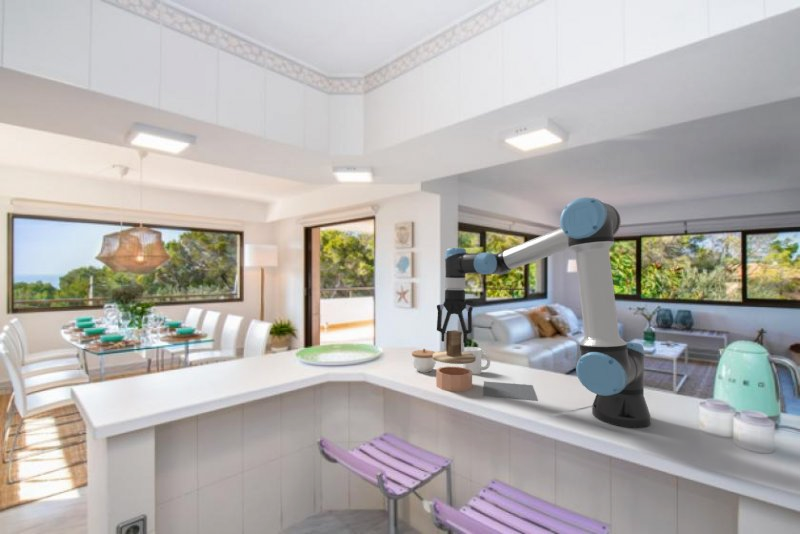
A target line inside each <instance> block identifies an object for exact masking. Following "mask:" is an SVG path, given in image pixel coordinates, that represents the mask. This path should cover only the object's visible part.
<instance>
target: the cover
mask: <svg viewBox="0 0 800 534" xmlns="http://www.w3.org/2000/svg"><path fill="white" fill-rule="evenodd" d="M446 333H447V351H444V350H440V351H436V352H435V351H434V352H435V353H433V359H434V360H436V362H439V363H443V364H452V365H462V364H467V363H472V362H474V361H476V356H475V355H473V354H471V353H467V352H461V334H463V331H461V330H454V329H453V330H446Z"/></svg>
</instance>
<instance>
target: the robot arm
mask: <svg viewBox="0 0 800 534" xmlns="http://www.w3.org/2000/svg"><path fill="white" fill-rule="evenodd" d="M621 222H622V221H621V215H620V213H619V212H618V210H617V208H616V207H614V206H612V205H611V204H609V203H605V202H603V201H602V200H599V199H598V198H595V197H588V196H586V197H578V198H576V199H574V200H573V199H572V200H571V201H570V202H569V203H567V205H566V206H565V207H564V208H563V209H562V211H561V213H560V217H559V225H560V228H558V229H555V230H552V231H549V232H546V233H544V234H542V235H540V236H538V237H535V238H532V239H530V240H528V241H525V242H523V243H520V244H518V245H515V246H512V247H511V248H506V249H505V250H503V251H501V252H497V253H491V252H471V253H468V252H467V250H466V248H465V247H464V248H463V247H449V248H447V249H446V250H445V259H444V261H445V277H444V278H445V279H444V288H445V290H444V302H443V303H442V304H437V305H436V310H437V318H436V319H437V320H436V331H437V332H439V333H440V334H441V338H440V339H441V342H443V351H447V328H448V325H449V322H450V319H451V317H452V315H454V314H455V315H457V316H458V319H459V323H460V326H461V330H462V334H461V352H464V347H465V344H467V343H468V334H472V332H473V315H472V314H473V313H472V312H473V309H474V306H472V305H469V304H467V302H466V291H465V289H466V275H468V274H470V275H471V274H473V275H499V276H500V275H505V274H508V273H510V271H512V270H515V269H516V268H520V267H522V266H525V265H528V264H531V263H534V262H536V261H539V260H543V259H545V258H547V257H551V256H553V255H556V254H559V253H562V252H565V251H567V250H570V251H572V252H573V253H574V254H575V255H574V256H575V262H576V273H577V280H578V281H577V282H578V290H579V298H580V309H581V315H582V324H583V325H582V326H583V333H584V334H583V335H584V337H583V338H582V340H581V341H580V342H579V353H580V358H579V359H578V361H577V364H576V367H575V371H576V377H577V378H578V380H579V382H580V383H581V385H582V386H583V387H584V388H585V389H586V390H587V391H589V392H591V393H593V394H595V398H594V400H593V403H592V405H591V408H592V409H591V410H592V412H591V413H592V414H591V415H593V416H594V417H595V418H597V419H598V420H600V421H603V422H604V423H608V424H610V425H616V426H620V427H623V428H624V427H625V428H636V429H638V428H646V427H649V426H651V421H652V420H651V419H652V418H651V417H652V416H651V413H650V411H649V407H648V405H647V401H646V399H645V398H646V397H645V395H644V394H645V393H644V390H645V389H644V387H645V386H644V385H645V370H644V369H645V356H646V354H645V350H644V346H643V345H642V344H641V343H638V342H630V341H625V340H624V339H623V338H622V337H621V335H620V331H619V324H618V323H619V322H618V314H617V306H616V297H615V290H614V282H613V272H612V265H611V257H610V249H611V247H612V246H613V245H615V237H614V236H616V234H617V233H618V232H619V230H620V227H621ZM444 308H445V310H446V311H447V312H446V314H445V318H444V322H443V321H442V320H443V319H442V318H443V309H444ZM465 309H466V312H467V326H466V322H465V319H464V314H463V311H464V310H465ZM442 322H443V325H442Z"/></svg>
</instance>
